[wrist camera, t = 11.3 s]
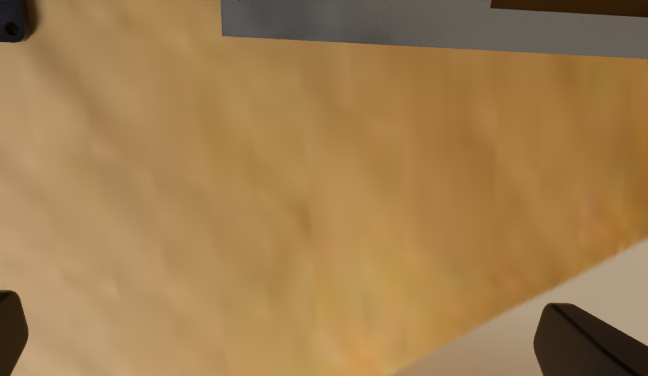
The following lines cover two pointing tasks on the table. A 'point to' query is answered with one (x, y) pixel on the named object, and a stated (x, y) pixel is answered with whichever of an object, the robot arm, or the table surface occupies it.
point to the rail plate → (438, 26)
